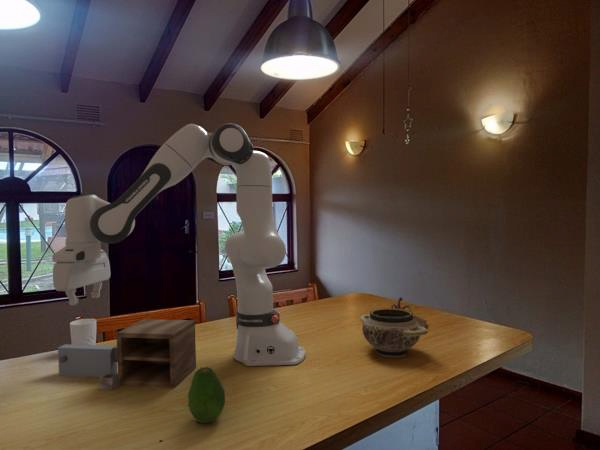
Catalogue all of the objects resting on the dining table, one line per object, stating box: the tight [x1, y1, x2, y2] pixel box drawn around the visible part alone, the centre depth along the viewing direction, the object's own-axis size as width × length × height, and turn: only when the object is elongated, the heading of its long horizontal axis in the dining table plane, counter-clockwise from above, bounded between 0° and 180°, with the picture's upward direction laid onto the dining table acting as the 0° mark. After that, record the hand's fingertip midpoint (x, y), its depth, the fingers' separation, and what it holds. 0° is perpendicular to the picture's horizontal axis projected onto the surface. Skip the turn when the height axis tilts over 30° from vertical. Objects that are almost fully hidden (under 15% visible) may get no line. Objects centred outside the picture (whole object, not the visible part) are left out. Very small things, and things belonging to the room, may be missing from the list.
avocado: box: [187, 366, 226, 424], centre depth 94 cm, size 8×8×12 cm
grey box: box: [57, 343, 118, 378], centre depth 122 cm, size 20×4×8 cm, turn 81°
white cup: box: [69, 318, 97, 345], centre depth 143 cm, size 8×8×10 cm
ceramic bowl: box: [359, 307, 429, 358], centre depth 136 cm, size 24×18×15 cm
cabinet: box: [98, 318, 197, 391], centre depth 119 cm, size 19×17×14 cm
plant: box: [389, 296, 427, 329], centre depth 166 cm, size 20×20×11 cm
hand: (85, 301), depth 122 cm, fingers open, 8 cm apart
